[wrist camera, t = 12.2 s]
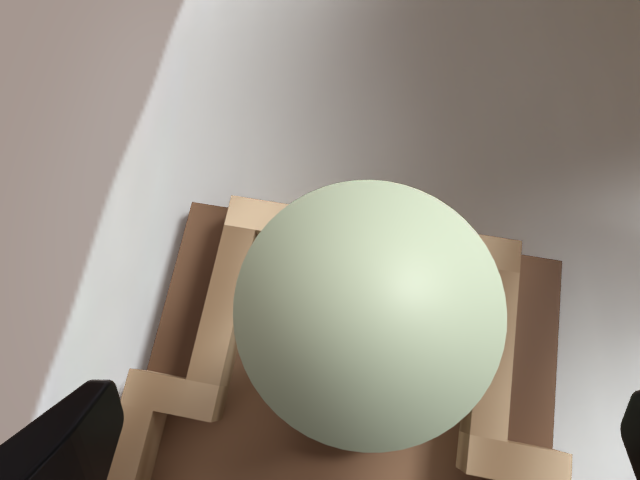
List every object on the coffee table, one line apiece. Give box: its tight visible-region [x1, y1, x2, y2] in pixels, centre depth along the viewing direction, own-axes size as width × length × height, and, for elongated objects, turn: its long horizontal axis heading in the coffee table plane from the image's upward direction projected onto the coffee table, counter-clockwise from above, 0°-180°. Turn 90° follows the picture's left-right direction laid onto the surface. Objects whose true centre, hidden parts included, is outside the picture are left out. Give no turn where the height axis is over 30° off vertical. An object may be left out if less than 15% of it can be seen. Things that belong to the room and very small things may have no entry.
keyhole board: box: [107, 195, 572, 480], centre depth 17 cm, size 15×18×2 cm
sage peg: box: [233, 180, 507, 453], centre depth 13 cm, size 6×6×12 cm
